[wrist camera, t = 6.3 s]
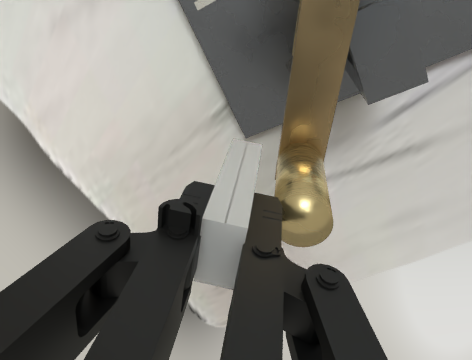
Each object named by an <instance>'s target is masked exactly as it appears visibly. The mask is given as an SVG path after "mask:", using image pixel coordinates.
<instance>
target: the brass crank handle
mask: <svg viewBox="0 0 472 360" xmlns="http://www.w3.org/2000/svg"><path fill="white" fill-rule="evenodd" d="M359 2H360V0H300V1H299V8H298V15H297V22H296V28H295V35H294V42H293V49H292V56H293V59H292V65H291V72H290V79H289V85H288V92H287V99H286V105H285V112H284V119H283V125H282V132H281V139H280V145H279V152H278V159H277V165H276V174H275V180H276V186H275V197H277V198H278V199H279V201H280V202H281V204H282V237H281V240H282V241H284V242H285V243H287V244H290V245H293V246H297V247H310V246H314V245H317V244H319V243H321V242H322V241H324V240H325V239H326V238H327V237H328V236H329V235H330V233H331V231H332V228H333V217H332V211H331V205H330V199H329V194H328V188H327V182H326V176H325V170H324V165H323V162H324V157H325V153H326V148H327V144H328V139H329V135H330V131H331V126H332V122H333V117H334V113H335V108H336V104H337V100H338V95H339V91H340V86H341V82H342V78H343V73H344V69H345V64H346V60H347V55H348V51H349V47H350V42H351V38H352V33H353V29H354V24H355V20H356V16H357V11H358V7H359Z"/></svg>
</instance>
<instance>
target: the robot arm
mask: <svg viewBox="0 0 472 360" xmlns="http://www.w3.org/2000/svg"><path fill="white" fill-rule="evenodd" d="M262 145H263V144H258V143H253V142H248V141H243V140H238V139H233V140H232V143H231V145H230V148H229V150H228V153H227V155H226V158H225V161H224V163H223V166H222V168H221V171H220V174H219V176H218V179H217V181H216V184H215V185H211V184H206V183H201V182H196V181H194V182H192V183H191V184H189V185H188V186H186V188H185V190H184V191H183V193H182V195H181V197H180V199H174V200H168V201H166V202H163V203H162V204H161V205H160V206H159V211H158V228H157V230H156V231H153V232H147V233H130V229H129V227H128V226H127V225H126V224H124V223H123V222H119V221H115V220H105V221H101V222H97V223H95V224H93V225H91V226H90V227H88V228H87V229H85V230H84V231H83V232H82V233H80V234H79V235H77V236H76V237H75V238H73V239H72V240H71V241H69V242H68V243H66V244H65V245H64V246H62V247H61V248H60V249H58V250H57V251H55V252H54V253H53V254H52V255H50V256H49V257H47V258H46V259H45V260H43V261H42V262H41V263H39V264H38V265H36V266H35V267H34V268H33V269H31V270H30V271H28V272H27V273H26V274H24V275H23V276H21V277H20V278H19V279H17V280H16V281H15V282H14V283H12V284H11V285H9V286H8V287H7V288H5V289H4V290H2V291H1V292H0V360H74V359H76V357H77V356H78V355H79V354H80V353H81V352H82V351H83V350H84V348H85V347H86V346H87V345H88V344H89V343H90V342H91V340H92V339H93V338H94V337H95V336H96V335H97V334H98V333H99V334H98V336H97V337H96V339H95V341H94V342H93V344H92V346H91V348H90V350H89V351H88V353H87V355H86V357H85V359H84V360H169V357H170V354H171V351H172V348H173V345H174V342H175V339H176V336H177V333H178V330H179V327H180V324H181V321H182V318H183V315H184V311H185V309H186V306H187V303H188V299H189V296H190V293H191V286H192V281H193V278H194V281H196V282H201V283H205V284H210V285H214V286H219V287H223V288H228V289H232V290H233V296H232V300H231V305H230V309H229V314H228V321H227V326H226V332H225V337H224V342H223V347H222V353H221V358H220V360H282V349H283V348H282V347H283V330H284V331H286V339H287V343H288V347H289V351H290V354H291V358H292V360H388V359H387V357H386V355H385V353H384V351H383V349H382V347H381V345H380V343H379V341H378V339H377V337H376V335H375V333H374V331H373V329H372V327H371V325H370V323H369V321H368V319H367V317H366V315H365V313H364V311H363V309H362V307H361V305H360V303H359V301H358V299H357V297H356V295H355V293H354V291H353V289H352V287H351V285H350V283H349V281H348V279H347V278H346V277H345V275H344V274H343V273H341V272H340V271H339V270H338V269H336V268H334V267H331V266H329V265H324V264H315V265H312V266H311V267H309V268H308V270H307V269H304V268H302V267H300V266H298V265H296V264H295V263H293V262H291V261H290V260H289V259H288V258H287V257H286V256H285V255H284V251H283V249H282V247H281V237H282V204H281V202H280V201H279V199H278V198H277V197H272V196H268V195H263V194H258V193H254V191H255V185H256V180H257V174H258V168H259V163H260V157H261V151H262ZM194 275H195V276H194ZM99 331H100V332H99Z"/></svg>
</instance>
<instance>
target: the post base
mask: <svg viewBox="0 0 472 360" xmlns="http://www.w3.org/2000/svg"><path fill="white" fill-rule="evenodd" d="M299 1H300V0H179V2H180V4H181V6H182V8H183V10H184V12H185V14H186V16H187V18H188V20H189V22H190V24H191V26H192V28H193V30H194V32H195V35H196V37H197V39H198V41H199V43H200V45H201V47H202V49H203V51H204V53H205V55H206V57H207V59H208V61H209V63H210V65H211V67H212V70H213V72H214V74H215V76H216V78H217V80H218V82H219V84H220V86H221V88H222V90H223V92H224V94H225V96H226V98H227V100H228V103H229V105H230V107H231V109H232V111H233V113H234V115H235V117H236V119H237V121H238V123H239V125H240V127H241V129H242V131H243V133H244V135H245V138H248V137H250V136H253V135H255V134H258V133H260V132H263V131H265V130H268V129H270V128H273V127H275V126H278V125H280V124H283V119H284V112H285V105H286V99H287V92H288V85H289V79H290V72H291V65H292V59H293V56H292V49H293V42H294V35H295V28H296V22H297V15H298V8H299ZM470 49H472V0H360V2H359V7H358V11H357V16H356V20H355V24H354V29H353V33H352V38H351V42H350V47H349V51H348V55H347V60H346V64H345V69H344V73H343V78H342V82H341V86H340V91H339V95H338V100H337V102H339V101H341V100H344V99H346V98H349V97H351V96H354V95H356V94H359V93H361V95H362V96H363V98H364V99H365V101H366V102H367V104H368V105H369V104H372V103H375V102H377V101H380V100H382V99H385V98H388V97H390V96H393V95H396V94H398V93H401V92H403V91H406V90H409V89H411V88H414V87H417V86H419V85H422V84H424V83H427V82H428V78H427V73H426V69H425V67H427V66H430V65H432V64H435V63H437V62H440V61H442V60H445V59H447V58H450V57H452V56H455V55H457V54H460V53H462V52H465V51H467V50H470Z"/></svg>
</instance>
